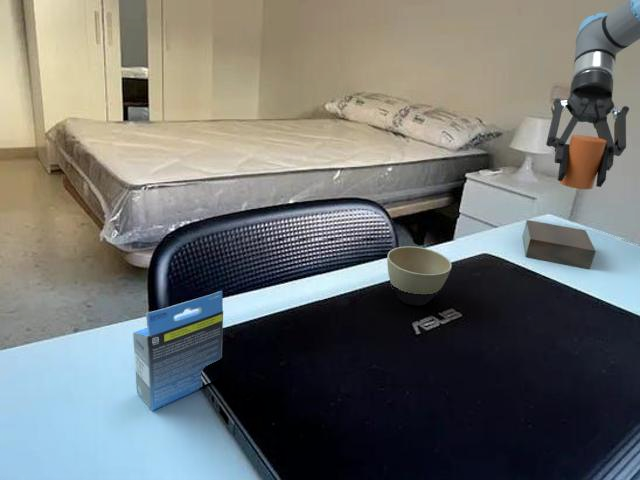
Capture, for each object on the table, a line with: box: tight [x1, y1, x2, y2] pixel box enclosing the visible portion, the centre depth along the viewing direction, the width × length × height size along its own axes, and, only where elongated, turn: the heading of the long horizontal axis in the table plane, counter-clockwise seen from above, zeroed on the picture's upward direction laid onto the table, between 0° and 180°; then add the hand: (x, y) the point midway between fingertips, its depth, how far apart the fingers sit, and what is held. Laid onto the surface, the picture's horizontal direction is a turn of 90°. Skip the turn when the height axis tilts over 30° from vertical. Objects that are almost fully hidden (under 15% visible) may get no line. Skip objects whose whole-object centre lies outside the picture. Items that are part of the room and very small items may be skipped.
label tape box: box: [132, 290, 224, 411], centre depth 55 cm, size 9×4×12 cm, turn 133°
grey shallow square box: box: [522, 219, 596, 270], centre depth 104 cm, size 12×12×4 cm
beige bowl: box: [386, 245, 453, 295], centre depth 80 cm, size 10×10×7 cm
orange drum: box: [558, 134, 607, 190], centre depth 95 cm, size 6×6×9 cm
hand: (581, 179), depth 92 cm, fingers closed on orange drum, 6 cm apart
